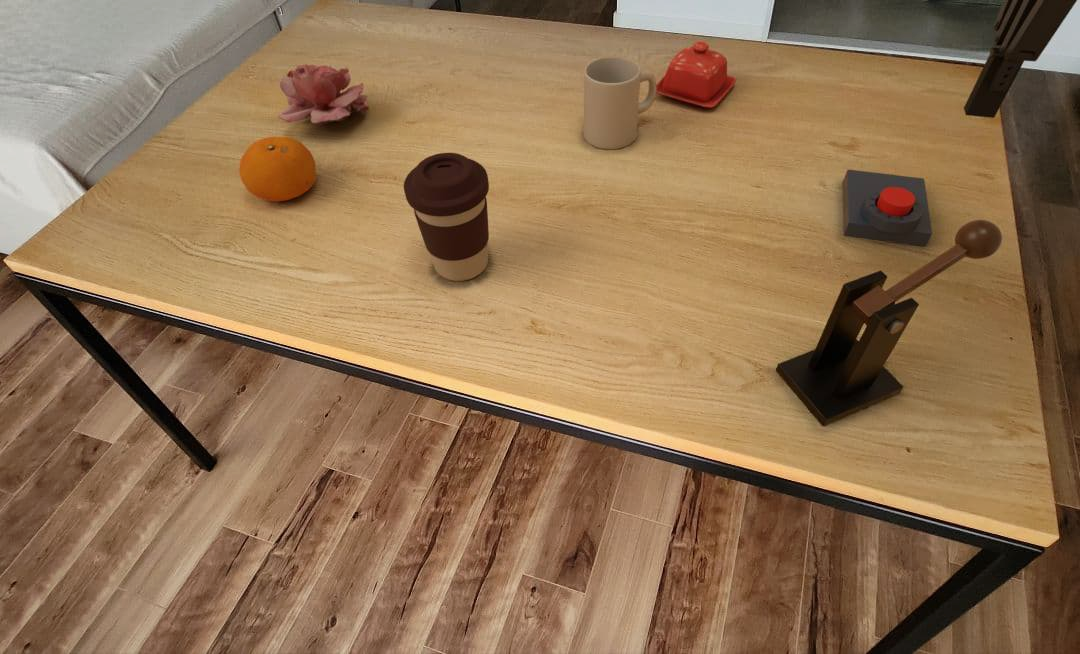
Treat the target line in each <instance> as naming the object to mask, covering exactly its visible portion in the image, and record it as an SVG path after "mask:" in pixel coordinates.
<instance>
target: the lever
mask: <svg viewBox="0 0 1080 654" xmlns="http://www.w3.org/2000/svg"><path fill="white" fill-rule="evenodd" d="M1002 242H1003V235H1002V232H1001V229H1000V228H999V227H998V225H996V224H995V223H994V222H991V221H989V220H986V219H976V220H971V221H969V222H967V223H965V224H964V225H962V226H961V227H960V228H959V229H958V230H957V232H956V234H955V238H954V243H955V245H953V246H952V247H950V248H949V249H948V250H945V252H943V253H942V254H940V255H938V256H937V257H935V258H933V259H932V260H930V261H929V262H928V263H926V264H924V265H923V266H921V267H920V268H918V269H917V270H915V271H914V272H912V273H911V274H909V275H908V276H906V277H905V278H903V279H901V280H900V281H898V282H897V283H895V284H894V285H892V286H891V287H889V288H888V289H886V290H885V289H883V287H882V288H881V287H880V286H879V285H878V286H877V287H875V288H874V289H872V290H870V291H869V292H867V293H866V294H864V295H863V296H861V297H860V298H858V299H857V300H855V301H854V302H853V304H854V313H855V315H857V316H858V317H859V318H860V319H861V320H862V321H863V322H864V325H865V326H867V324H868V322H869V320H870V318H871V316H872V314H873V313H874V312H876V311H878V310H881V309H884V308H886V307H889V306H891V305H894V304H896V302H899V301H900V300H901V299H902V298H905V297H906V296H907V295H909V294H910V293H912V292H913V291H915V290H917V289H918V288H919V287H921V286H922V285H925V284H926V283H927V282H929V281H931V280H932V279H933V278H935V277H937V276H938V275H940V274H942V273H943V272H944V271H946V270H947V269H949V268H950V267H952V266H954V265H955V264H957V263H958V262H959V261H962V260H963V259H964V258H969V259H973V260H982V259H985V258H988V257H990V256H993V255H994V254H995V253H996V252H997V251H998V250H999V249H1000V248H1001V245H1002Z"/></svg>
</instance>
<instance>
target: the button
mask: <svg viewBox="0 0 1080 654" xmlns="http://www.w3.org/2000/svg"><path fill="white" fill-rule="evenodd" d="M914 202H915V197H914V195H913V194H912V193H911V192H909V191H908V190H905V189H903V188H899V187H889V188H886V189H884V190H883V191H882V192H881V194H880V197H879V199H878V201H877V208H878V209H879V210H880V211H881V212H884V213H886V214H888V215H890V216H897V217H903V216H906V215H908V214H909V212H910V210H911V208H912V206H913V204H914Z"/></svg>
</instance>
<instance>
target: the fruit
mask: <svg viewBox="0 0 1080 654" xmlns="http://www.w3.org/2000/svg"><path fill="white" fill-rule="evenodd" d="M238 174H239V177H240V180H241V182H242V184H243V185H244V187H245V189H246V190H247V191H248V192H249V193H251V194H252V195H253V196H255V197H256V198H258V199H261V200H263V201H268V202H269V201H270V202H283V201H284V202H285V201H289V200H292V199H294V198H297V197H300V196H302V195H304V193H306V192H307V191H308V190H310V189H311V187H312V186H313V184H314V183H315V181H316V176H317V166H316V161H315V159H314V156H313V154H312V153H311V151H310V150H309V149H308V148H307V147H306V146H305V145H304V144H303V143H302V142H301V141H299V140H297V139H295V138H294V137H293V138H292V137H289V136H268V137H267V136H266V137H263V138H260V139H258V140H256V141H254V142H253V143H251V144H250V145H249V147H247V149H246V150H245V152H244V153H243V155H242V157H241V158H240V161H239V167H238Z"/></svg>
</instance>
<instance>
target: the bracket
mask: <svg viewBox="0 0 1080 654" xmlns="http://www.w3.org/2000/svg"><path fill="white" fill-rule="evenodd" d="M887 279H888V275H887V274H886V273H885V272H883V271H882V270H878V271H875V272H873V273H870V274H867V275H864V276H861V277H859V278H857V279H852V280H851V281H847V282H845V283H843V285H842V287H841V289H840V292H839V294H838V296H837V298H836V300H835V303H834V305H833V307H832V310H831V312H830V314H829V317H828V319H827V321H826V323H825V325H824V328H823V331H822V333H821V335H820V337H819V339H818V342H817V345H816V346H815V349H812V350H811V351H807V352H804V353H802V354H799V355H797V356H794V357H792V358H790V359H787V360H784V361H781V362H779V363H778V364H777V365H776V369H775V372H776V373H777V374H778V375H779V376H780V377H781V378H782V380H783V381H784V382H785V383H786V384H787V385H788V387H789V388H790V389H791V390H792V392H793V393H794V394H795V395H796V396H797V397H798V399H799V400H800V401H801V402H802V403H803V405H804V406H805V407H806V408H807V409H808V411H810V413H811V414H812V415H813V417H815V419H816V420H817V421H818V422H819V424H820V425H821V426H822V427H824V426H827V425H829V424H832V423H834V422H836V421H838V420H841V419H843V418H845V417H848V416H850V415H852V414H854V413H857V412H859V411H862V410H864V409H866V408H868V407H871V406H873V405H876V404H878V403H881V402H882V401H885V400H887V399H890V398H893V397H894V396H897V395H899V394H901V393H902V391H903V389H904V387H905V386H904V385H903V384H902V383H901V382H900V381H899V380H898V379H897V378H896V377H895V376H894V375H893V374H892V373H891V372H890V371H889V370H888V369H887V368H886V367H885V364H886V362H887V360H888V359H889V357H890V356H891V354H892V352H893V350H895V347H896V345H897V344H898V342H899V341H900V338H901V337H902V335H903V333H904V332H905V330H906V328H907V327H908V325H909V323H910V321H911V320H912V318H913V316H914V314H915V312H916V311H917V309H918V307H919V306H920V304H919V302H918V301H916V300H915V299H914V298H913V297H909V298H907V299H904V300H902V301H898V302H897V303H896V302H895V304H894V305H891V306H889V307H886V308H884V309H881V310H878V311H876V312H874V313H873V314H872V316H871V318H870V320H869V322H868V324H867V325H865V323H864V322H863V321H862V320H861V319H860V318H859V317H858V316H857V315H855V313H854V304H853V302H854V301H855V300H857V299H858V298H860V297H861V296H863V295H864V294H866V293H867V292H869V291H870V290H872V289H874V288H875V287H877V286H878V285H879V286H880V287H881V288H882V289H883V287H884V285H885V283H886V281H887ZM864 325H865V328H864V329H863V327H864ZM862 329H863V330H864V331H863V332H862V334H861V336H860V338H859V340H858V336H859V335H860V333H861V331H862Z"/></svg>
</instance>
